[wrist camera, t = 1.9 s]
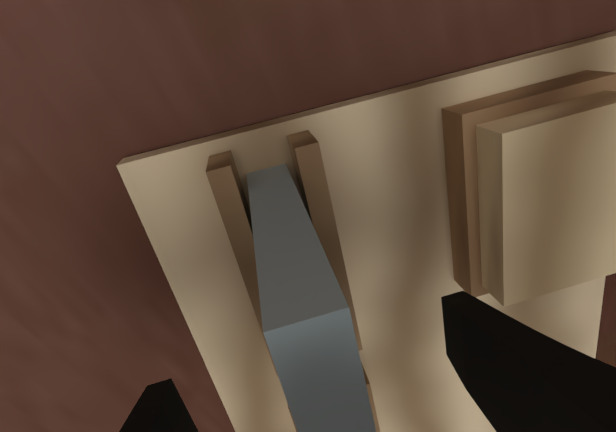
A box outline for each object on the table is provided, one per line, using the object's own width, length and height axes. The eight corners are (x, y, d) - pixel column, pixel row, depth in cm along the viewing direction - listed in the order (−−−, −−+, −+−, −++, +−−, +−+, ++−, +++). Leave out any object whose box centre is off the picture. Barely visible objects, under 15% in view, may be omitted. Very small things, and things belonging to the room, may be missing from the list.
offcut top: (605, 90, 14) (644, 95, 13) (589, 253, 17) (619, 271, 16) (475, 125, 14) (501, 134, 13) (481, 285, 17) (503, 306, 16)
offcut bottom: (585, 70, 15) (619, 72, 14) (572, 244, 19) (598, 260, 17) (441, 108, 15) (461, 114, 14) (453, 279, 18) (471, 298, 17)
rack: (613, 31, 16) (690, 28, 13) (575, 402, 25) (616, 444, 23) (123, 158, 15) (98, 183, 12) (272, 500, 24) (278, 558, 21)
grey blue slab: (285, 163, 15) (348, 307, 7) (322, 309, 18) (398, 532, 10) (246, 173, 15) (263, 332, 7) (290, 318, 18) (339, 552, 10)
